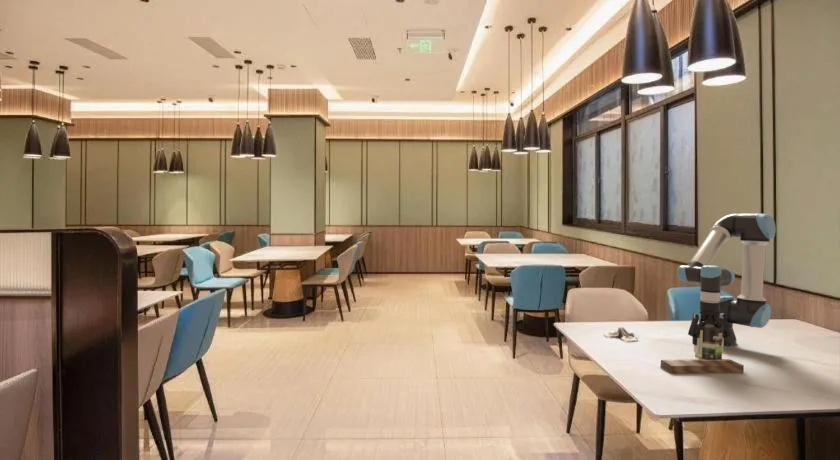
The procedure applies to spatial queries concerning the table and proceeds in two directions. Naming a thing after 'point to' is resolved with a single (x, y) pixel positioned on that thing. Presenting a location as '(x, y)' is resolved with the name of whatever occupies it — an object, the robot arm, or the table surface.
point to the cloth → (622, 335)
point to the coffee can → (710, 342)
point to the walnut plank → (702, 366)
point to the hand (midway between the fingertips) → (708, 352)
